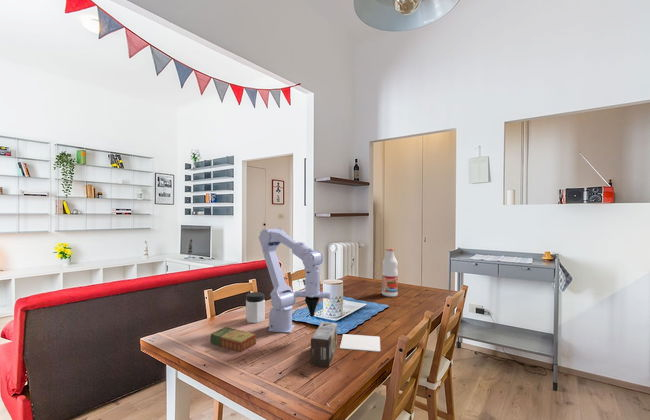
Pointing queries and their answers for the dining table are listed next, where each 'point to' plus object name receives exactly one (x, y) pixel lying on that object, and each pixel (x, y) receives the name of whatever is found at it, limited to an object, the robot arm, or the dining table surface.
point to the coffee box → (324, 344)
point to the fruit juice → (390, 274)
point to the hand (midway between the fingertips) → (312, 315)
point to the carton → (233, 339)
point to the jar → (255, 307)
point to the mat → (360, 342)
